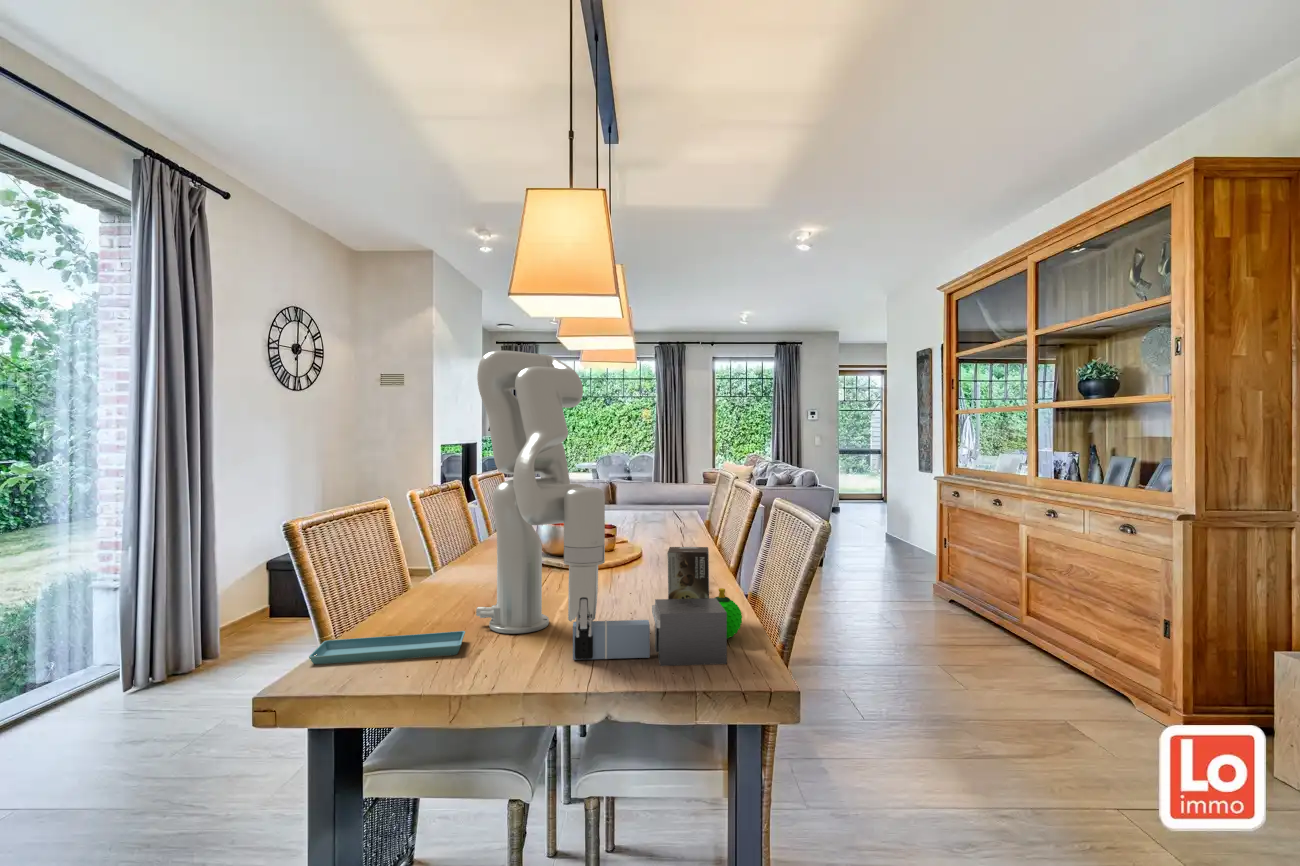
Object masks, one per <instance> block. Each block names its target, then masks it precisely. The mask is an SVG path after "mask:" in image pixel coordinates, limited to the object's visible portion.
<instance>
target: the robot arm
mask: <svg viewBox="0 0 1300 866" xmlns="http://www.w3.org/2000/svg"><path fill="white" fill-rule="evenodd" d="M477 386H478V391H479V395H480V398H481V400H482V403H483V405H484V408H485V411H486V414H487V417H488V423H489V425H488V426H489V431H490V432H489V433H490V439H491V446H492V447H491V448H492V454H493V459H494V464H495V466H496V468H497V470H498V471H499V473H502V474H505V475H512V477H513V478H512V479H509V480H505V481H503V482H501V483H499V484H498V485H497V486H496V487H495V489H494V491H493V494H492V509H493V514H494V520H495V528H496V530H495V531H496V560H497V561H496V604H495V605H491V607H489V606H488V607H487V606H477V607H476V610H475V613H476V616H477V617H479V619H485V618H491V619H490V621H489V624H488V627H489V629H490V630H491V631H493V632H496V633H500V634H507V635H508V634H512V635H513V634H514V635H515V634H516V635H518V634H528V633H533V632H537V631H540V630H543V629H545V628H547V626H548V625H549V624H550V618H549V617H548V615H545V614H543V613H542V611H543V608H542V605H543V603H542V602H543V601H542V597H543V595H542V593H543V591H542V589H543V588H542V587H543V585H542V584H543V583H542V581H543V565H542V564H543V563H542V561H543V557H542V556H543V545H542V540H541V538H540V536H539V534H538V533H537V531H536V530H535V528H534V527H533V526H543V525H545V526H548V525H554V524H555V525H556V524H563V564H564V565H566V566H568V590H567V591H568V595H567V596H568V606H567V607H568V608H567V609H568V612H567V616H568V617H567V620H568V621H570V622H573V621H574V620H575V622H576V636H575V658H576V659H579V660H592V659H591V658H592V657H593V636H591V622H592V621H595V619H596V613H597V604H598V592H599V591H598V590H599V566H600V565H602V564H605V561H606V559H605V557H606V556H605V555H606V554H605V550H606V549H605V548H606V547H605V542H606V541H605V536H606V535H605V532H606V531H605V530H606V529H605V527H606V523H605V522H606V516H605V513H606V509H605V508H606V506H605V505H606V504H605V502H606V496H605V493H604V492H605V491H603V490H602V489H601V488H599V487H591V486H590V487H589V486H585V485H582V484H578V483H571V482H570V481H571V480H570V473H569V468H568V461H567V456H566V450H565V448H564V444H563V442H564V441H565V440H566V439H567V438H568V435H569V430H568V425H567V422H566V417H565V413H564V410H563V409H564V408H567V409H570V408H575V407H576V406H578V405H579V404H580V403H581V401H582V398H583V396H584V395H583V394H584V389H583V387H584V386H583V383H582V380H581V378H580V376H579V374H578V373H577V372H576V371H575V369H573V368H572V367H570V366H569V365H567V364H565V363H564V362H563V361H561V360H559V359H558V358H556V357H555V356H552V355H548V354H543V353H532V352H525V351H515V350H494V351H490V352H487V353H486V354H484V355H483V356H482V357H481V359H480V361H479V364H478V367H477ZM512 390H515V394H516V395H514V393H513V392H512ZM536 475H539V476H540V478H537V477H536ZM579 623H580V625H579ZM587 623H589V625H587ZM588 631H589V633H588ZM588 635H589V636H588Z"/></svg>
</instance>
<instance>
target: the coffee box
mask: <svg viewBox="0 0 1300 866" xmlns="http://www.w3.org/2000/svg"><path fill="white" fill-rule="evenodd" d="M709 554H710V552H709V547H707V546H669V549H668V551H667V592H668V593H667V594H668V595H667V599H699V598H710V568H709V567H710V561H709V560H710V558H709V557H710V555H709Z"/></svg>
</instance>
